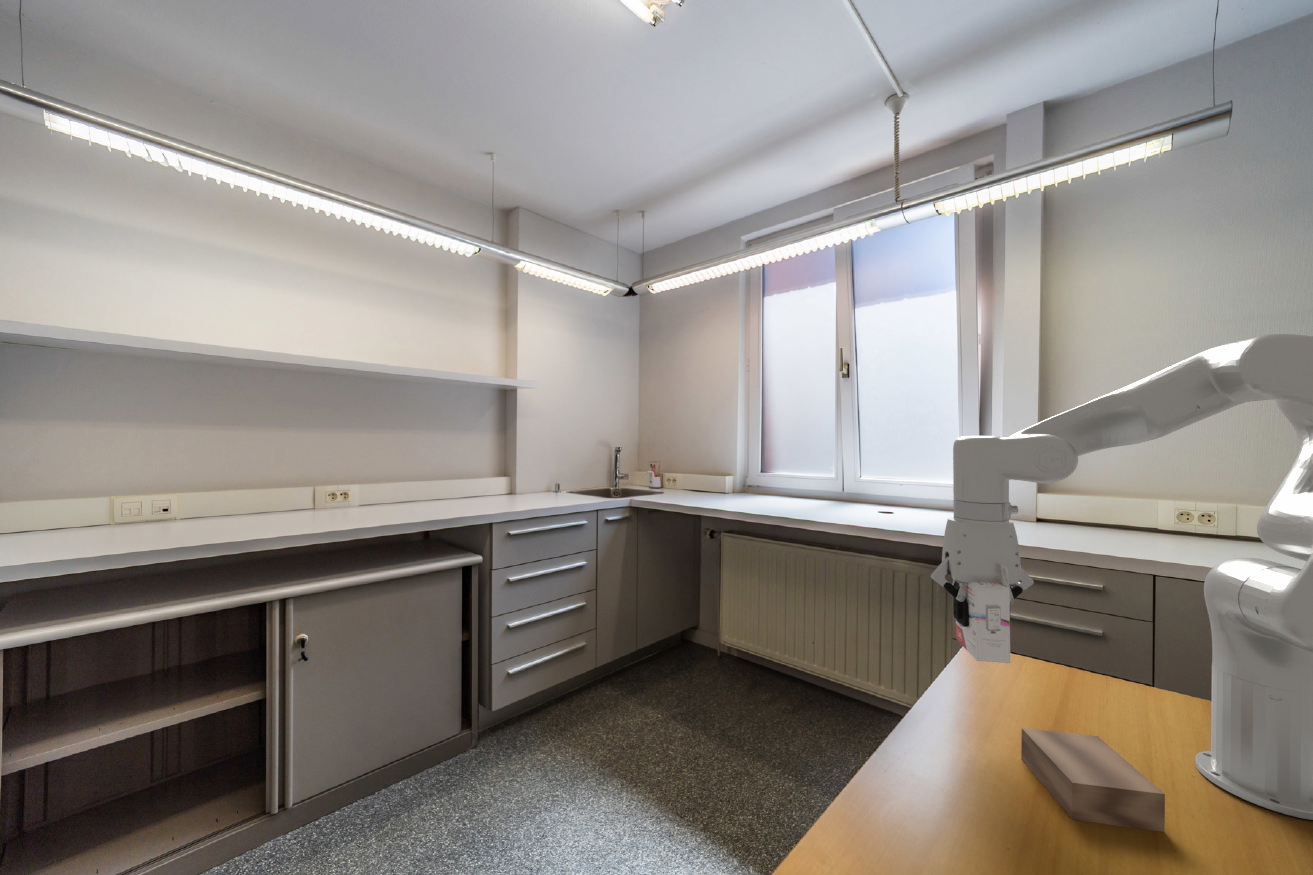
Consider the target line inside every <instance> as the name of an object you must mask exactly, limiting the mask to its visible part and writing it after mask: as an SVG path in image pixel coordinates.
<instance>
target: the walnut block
mask: <svg viewBox="0 0 1313 875" xmlns="http://www.w3.org/2000/svg"><path fill="white" fill-rule="evenodd" d="M1020 751H1021V757H1020V758H1021V761H1023V763H1024V764H1025V765H1026V766H1027V767H1028V769H1029V770H1030V772H1032V773H1033V775H1034V776H1035V778H1037V779H1038V781H1039V782H1040V783H1041V784H1042V785H1043V787H1044V788H1045V789H1046V790H1047V791H1048V793H1049V794H1050V795H1051V796H1052V797H1053V798H1054V800H1055V801H1056V802H1057V803H1058V804H1059V806H1060V807H1061V808H1062V809H1063V810H1064V811H1065V812H1066V813H1067V815H1068V816H1069V817H1070V819H1071V820H1073V821H1074V820H1075V821H1082V822H1090V823H1095V824H1103V825H1109V826H1116V827H1117V826H1119V827H1125V828H1126V827H1127V828H1132V829H1133V828H1134V829H1140V830H1147V831H1155V832H1161V833H1165V832H1166V830H1165V828H1166V826H1165V824H1166V823H1165V822H1166V820H1165V818H1166V816H1165V815H1166V812H1165V811H1166V794H1165V793H1164V792H1163V791H1162V790H1161V789H1160V788H1159V787H1158V786H1156V785H1155V784H1154V783H1153V782H1152V781H1151V780H1149V779H1148V778H1147V777H1146V776H1144V775H1143V773H1141V772H1140V771H1139V770H1138V769H1137V768H1136V767H1134V766H1133V765H1132V764H1131V763H1129V762H1128V761H1127V760H1126V759H1125V758H1124V757H1123V756H1122V755H1120V754H1119V753H1118V752H1117V751H1116V750H1115V749H1114V748H1112V747H1111V746H1110V745H1109V744H1108V743H1106V742H1105V741H1104V740H1103V739H1101V738H1100V737H1099V736H1098V735H1093V734H1090V735H1089V734H1082V733H1071V732H1064V731H1062V732H1061V731H1054V730H1053V731H1052V730H1046V729H1045V730H1043V729H1035V728H1034V729H1033V728H1028V727H1027V728H1024V727H1021V750H1020Z"/></svg>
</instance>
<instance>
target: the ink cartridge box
mask: <svg viewBox="0 0 1313 875" xmlns="http://www.w3.org/2000/svg"><path fill="white" fill-rule="evenodd" d="M1001 575H1002V584H999V583H988V582H970V583H968V591H967V594H966V602H968V604H969V626H968V627H963V626H962V625H961V624H960V623H959V622H958V621H957V620H956V619H955V640H956V641H957V642H958V643H959V644H960V645H961V646H962V647H963V649H965V651H966V652H968V654H970V655H971V656H972V657H973V658H974V660H975V661H977V662H987V663H988V662H989V663H1002V664H1004V663H1005V664H1010V663H1011V604H1010V589H1009V582H1008V571H1007V568H1006V567H1005V566H1003V565H1001Z"/></svg>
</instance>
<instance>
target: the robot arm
mask: <svg viewBox="0 0 1313 875" xmlns="http://www.w3.org/2000/svg"><path fill="white" fill-rule="evenodd" d="M1271 400H1272V401H1273V400H1274V401H1275V403H1276V405H1277V407H1278V409H1279V410H1280V412H1281V413H1282V414H1283V415H1284V417H1285V418H1286V419H1287V420H1288V422H1289V423H1290V424H1291V425H1292V427H1293V429H1294V431H1295V433H1296V435H1297V438H1298V443H1299V444H1298V445H1299V446H1298V452H1297V456H1296V457H1295V459H1294V461H1293V464H1292V465H1291V468H1290V469H1289V471H1288V472H1287V474H1286V475H1285V477H1284V478H1283V480H1282V482H1280V484H1279V486H1278V487H1277V489H1276V491H1275V492H1274V494H1273V495H1272V497H1271V499H1269V501H1268V503H1267V504H1266V506H1265V508H1264V509H1263V511H1262V512H1261V514H1260V516H1259V518H1258V521H1257V522H1256V523H1257V525H1256V531H1257V532H1256V534H1257V535H1258V537H1259V539H1260V540H1261V542H1262V543H1263V544H1264V545H1266V546H1267V547H1268V548H1270V549H1272V550H1274V551H1275V552H1277V553H1280V554H1283V555H1285V556H1287V557H1291V558H1294V559H1297V560H1301V561H1304V562H1305V564H1304V565H1303V566H1302V568H1298V567H1295V566H1290V565H1287V564H1283V563H1280V562H1275V561H1272V560H1267V559H1261V558H1254V557H1237V558H1236V557H1235V558H1231V559H1227V560H1223V561H1221V562H1219V563H1217V564H1215V565H1214V566H1213V567H1212V568H1211V569H1210V570H1209V572H1208V573H1207V575H1206V576H1205V579H1204V584H1203V595H1204V601H1205V605H1206V606H1205V607H1206V609H1207V614H1208V618H1209V624H1210V632H1211V648H1212V650H1211V651H1212V652H1211V653H1212V654H1211V655H1212V656H1211V659H1212V661H1211V722H1210V723H1211V725H1210V726H1211V728H1210V730H1211V731H1210V736H1211V737H1210V750H1203V751H1200V752H1198V753H1197V754H1196V755H1195V757H1194V758H1195V760H1194V761H1195V763H1194V764H1195V767H1196V768H1197V770H1198V772H1200V773H1201V774H1202V776H1204V777H1205V778H1206V779H1208V780H1209V781H1210V782H1211V783H1213V784H1214V785H1216V786H1218V787H1220V788H1221V789H1223V790H1224V791H1226V792H1228V793H1229V794H1232V795H1234V796H1236V797H1238V798H1240V799H1242V800H1245V801H1247V802H1249V803H1252V804H1255V805H1257V806H1259V807H1261V808H1265V809H1267V810H1271V811H1273V812H1276V813H1280V814H1283V815H1286V816H1291V817H1295V818H1300V819H1304V820H1310V821H1311V820H1312V821H1313V336H1312V335H1305V334H1304V335H1303V334H1293V333H1272V334H1266V335H1265V334H1264V335H1259V336H1255V337H1251V338H1247V339H1246V338H1245V339H1241V340H1237V341H1233V342H1229V343H1225V344H1222V345H1218V346H1214V347H1212V348H1209V349H1206V350H1203V351H1202V352H1199V353H1196V354H1194V355H1193V356H1189V357H1188V358H1186V359H1185V358H1184V359H1183V360H1181V361H1179V362H1177V363H1175V364H1173V365H1170V366H1168V367H1166V368H1164V369H1162V370H1160V371H1157V372H1155V373H1152V374H1151V375H1147V377H1145V378H1142V379H1140V380H1136V381H1135V382H1133V383H1130V384H1128V385H1126V386H1123V387H1121V388H1119V389H1116V390H1114V391H1112V392H1110V393H1107V394H1104V395H1102V396H1099V397H1097V398H1094V399H1093V400H1090V401H1088V402H1085V403H1084V404H1081V405H1078V406H1076V407H1074V408H1071V409H1069V410H1065V411H1064V412H1061V413H1059V414H1056V415H1054V416H1051V417H1049V418H1046V419H1044V420H1042V421H1040V422H1038V423H1036V424H1033V425H1031V426H1029V427H1027V428H1024V429H1022V430H1020V431H1018V432H1016V433H1013V434H1011V435H1010V436H1008V437H1004V436H1003V437H1002V436H998V435H963V436H959V437H958V438H956V439H955V441H954V442H953V448H952V452H953V453H952V455H953V456H952V461H953V462H952V464H953V465H952V466H953V467H952V468H953V469H952V470H953V471H952V474H953V477H952V478H953V479H952V480H953V484H952V486H953V488H952V489H953V490H952V491H953V496H952V497H953V517H948V518H947V521H946V524H945V530H944V536H943V541H942V542H943V543H942V553H941V563H940V564H938V566H937V567H936V568H935V569H934V570H933V572H932V573H931V574H930V578H931V579H932V580H933V581H934V582H936V583H937V584H939V586H941V587H942V588H943V589H944V590H945V591H946V592H947V593H948V594H950V596H951V597H953V598H952V605H953V606H952V608H953V612H952V614H953V618H954V619H955V621H956V620H957V621H958V622H959V623H960V624H961V625H962V626H963V627H968V626H969V604H968V602H966V594H967V591H968V583H970V582H988V583H999V584H1002V575H1001V565H1003V566H1005V567H1006V568H1007V571H1008V582H1009V589H1010V605H1012V604H1014V603H1015V600H1016V598H1017V597H1019V596H1020V595H1021V594H1022V593H1023V591H1025V590H1027V589H1028V588H1030V587H1031V586H1033V585H1034V584H1035V581H1034V579H1033V578H1032V577H1031V576H1030V575H1029V574H1028V573H1027V572H1026V570H1025V569H1024V568H1023V566H1022V565H1021V564H1022V563H1021V554H1020V545H1019V540H1018V535H1017V530H1016V528H1015V524H1014V522H1013V521H1010V520H1011V517H1012V516H1011V515H1017V514H1019V506H1017V505H1012V504H1011V502H1010V481H1011V480H1013V481H1022V482H1031V483H1037V484H1054V483H1057V482H1060V481H1063V480H1066V479H1067V478H1068V477H1070V476H1072V475H1073V473H1074V471H1076V469H1077V466H1078V464H1079V457H1080V456H1083V455H1086V454H1089V453H1093V452H1097V451H1101V450H1104V449H1105V450H1106V449H1112V448H1117V447H1124V446H1131V445H1138V444H1141V443H1144V442H1149V441H1153V440H1157V439H1159V438H1162V437H1165V436H1168V435H1170V434H1171V433H1173V432H1176V431H1179V430H1181V429H1183V428H1186V427H1188V426H1191V425H1193V424H1196V423H1197V422H1200V421H1202V420H1205V419H1207V418H1209V417H1212V416H1216V415H1217V414H1219V413H1221V412H1224V411H1226V410H1229V409H1232V408H1234V407H1237V406H1239V405H1243V404H1245V403H1249V402H1259V401H1260V402H1261V401H1271ZM946 576H948V577H951V579H952V580H953V581H952V583H951V582H950V581H948V580H947V579H946Z"/></svg>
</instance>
